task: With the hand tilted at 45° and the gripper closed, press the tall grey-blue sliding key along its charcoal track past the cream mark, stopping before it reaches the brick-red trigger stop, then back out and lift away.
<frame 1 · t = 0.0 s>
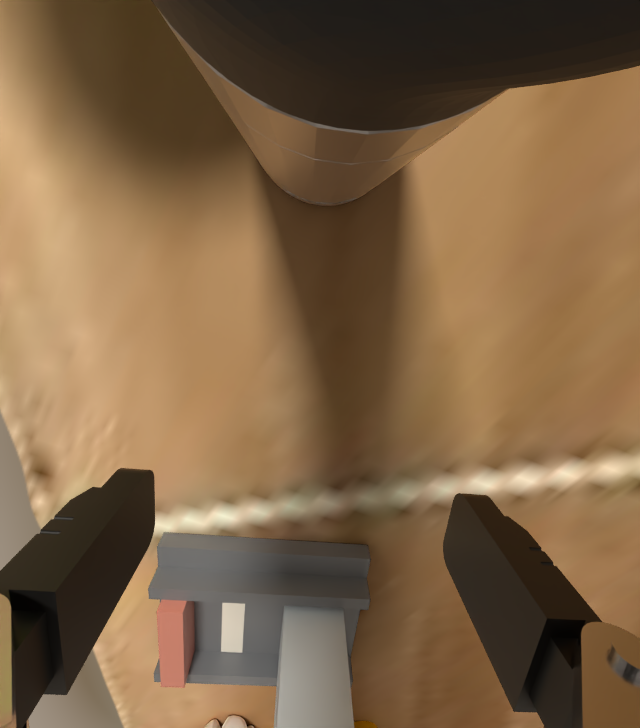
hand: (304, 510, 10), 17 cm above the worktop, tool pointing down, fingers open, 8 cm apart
water bottle: (230, 726, 41), on the worktop
key: (309, 721, 26), point 9 cm above the worktop, slide at 0.0 cm
key track: (309, 605, 35), on the worktop
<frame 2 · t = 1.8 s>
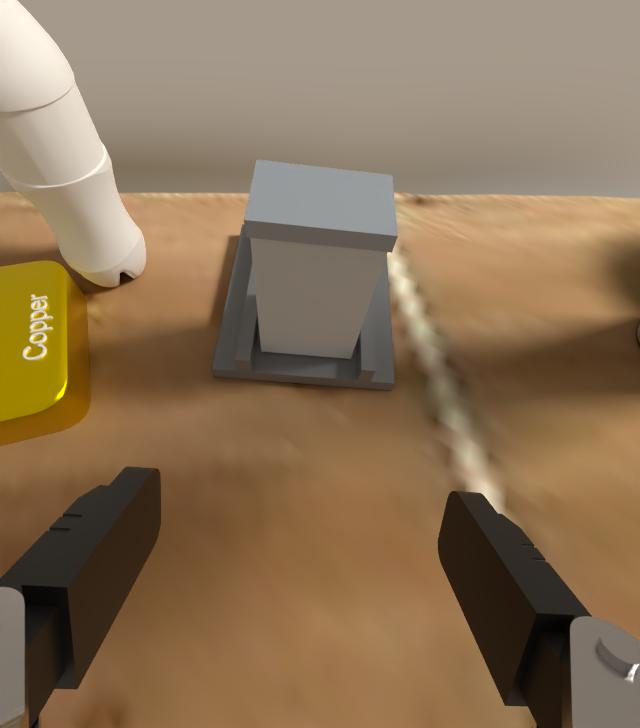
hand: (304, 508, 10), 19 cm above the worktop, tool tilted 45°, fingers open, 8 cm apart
water bottle: (117, 268, 37), on the worktop
key: (313, 279, 27), point 9 cm above the worktop, slide at 0.0 cm
key track: (306, 341, 35), on the worktop
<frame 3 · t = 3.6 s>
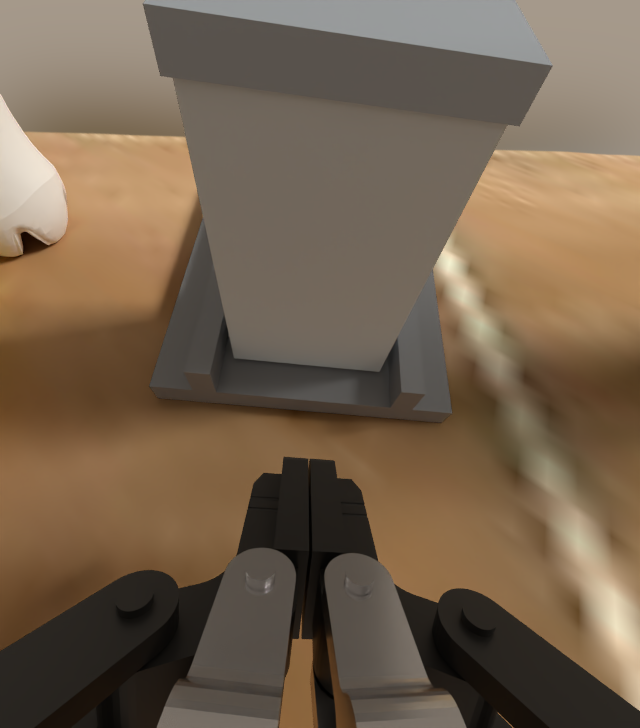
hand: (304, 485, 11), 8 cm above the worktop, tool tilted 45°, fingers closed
water bottle: (27, 231, 25), on the worktop
key: (323, 228, 15), point 9 cm above the worktop, slide at 0.0 cm
key track: (308, 343, 22), on the worktop
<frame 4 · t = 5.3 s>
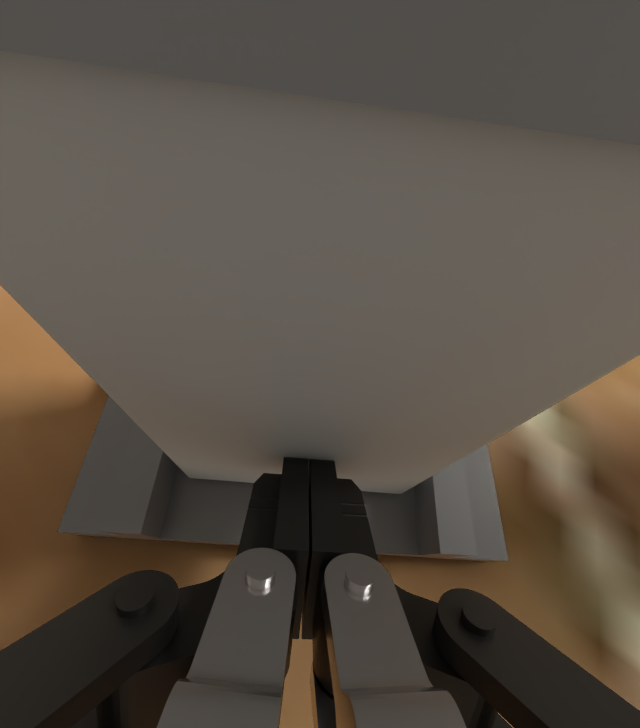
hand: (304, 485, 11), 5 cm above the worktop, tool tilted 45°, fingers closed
key: (320, 321, 9), point 9 cm above the worktop, slide at 0.1 cm, touching gripper
key track: (299, 437, 16), on the worktop
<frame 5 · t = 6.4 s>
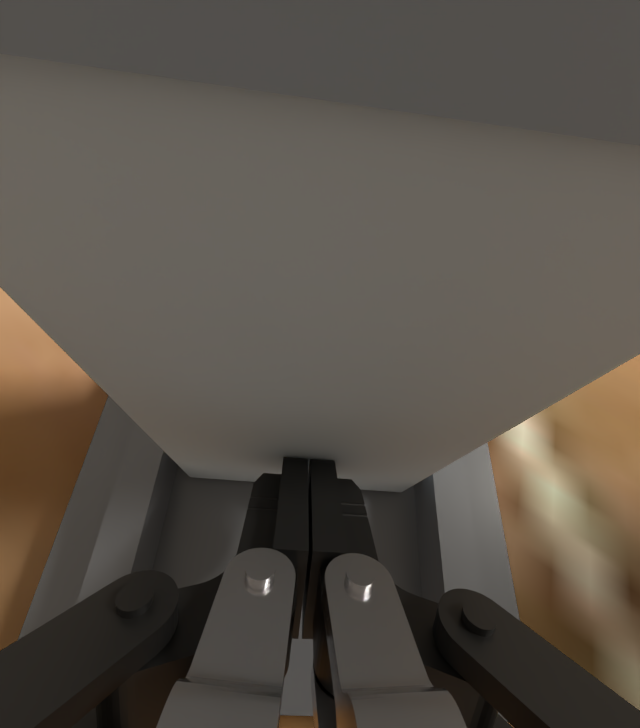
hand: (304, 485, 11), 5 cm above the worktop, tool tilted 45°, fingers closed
key: (320, 320, 9), point 9 cm above the worktop, slide at 4.5 cm, touching gripper
key track: (291, 546, 14), on the worktop
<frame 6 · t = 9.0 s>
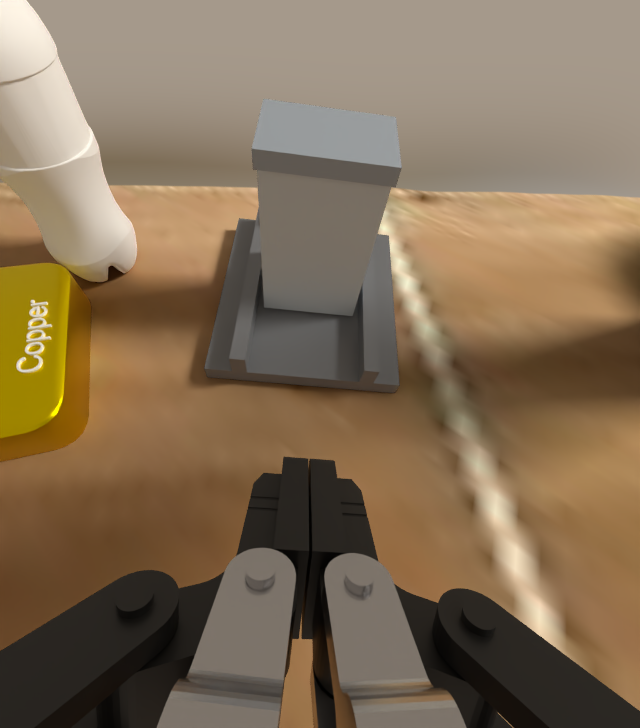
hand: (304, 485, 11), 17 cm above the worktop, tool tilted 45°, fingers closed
water bottle: (106, 263, 35), on the worktop
key: (317, 228, 27), point 9 cm above the worktop, slide at 4.5 cm
key track: (305, 341, 33), on the worktop
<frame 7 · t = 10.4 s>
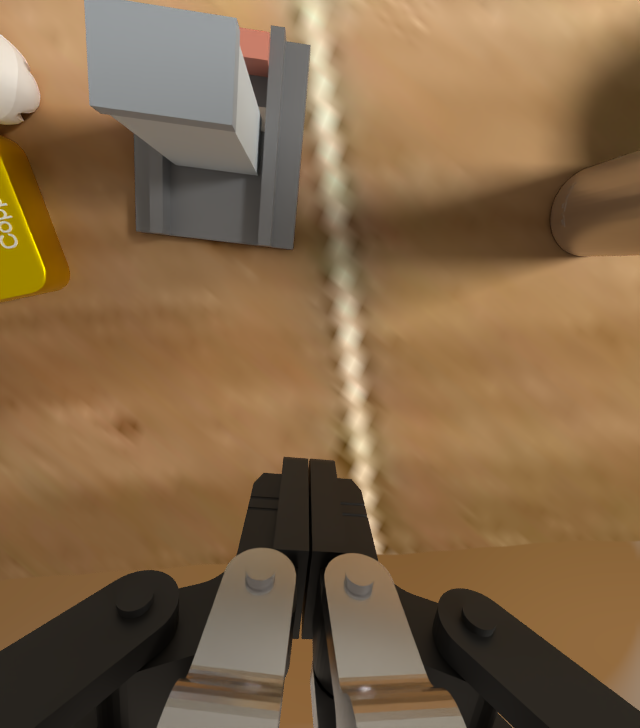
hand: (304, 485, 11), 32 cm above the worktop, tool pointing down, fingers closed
water bottle: (12, 91, 34), on the worktop
key: (196, 112, 28), point 9 cm above the worktop, slide at 4.5 cm
key track: (220, 196, 37), on the worktop
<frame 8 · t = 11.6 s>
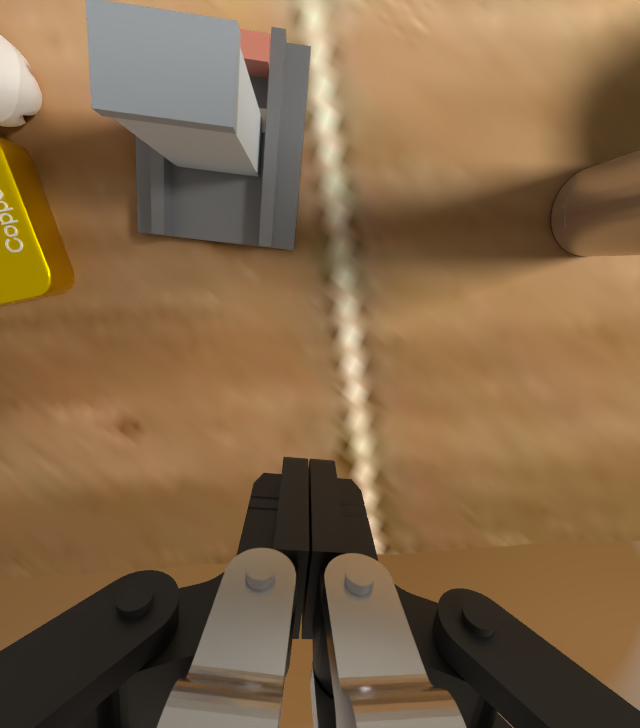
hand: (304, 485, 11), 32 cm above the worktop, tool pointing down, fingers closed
water bottle: (14, 93, 35), on the worktop
key: (197, 113, 28), point 9 cm above the worktop, slide at 4.5 cm
key track: (221, 197, 38), on the worktop
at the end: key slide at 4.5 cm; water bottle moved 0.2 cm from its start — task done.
